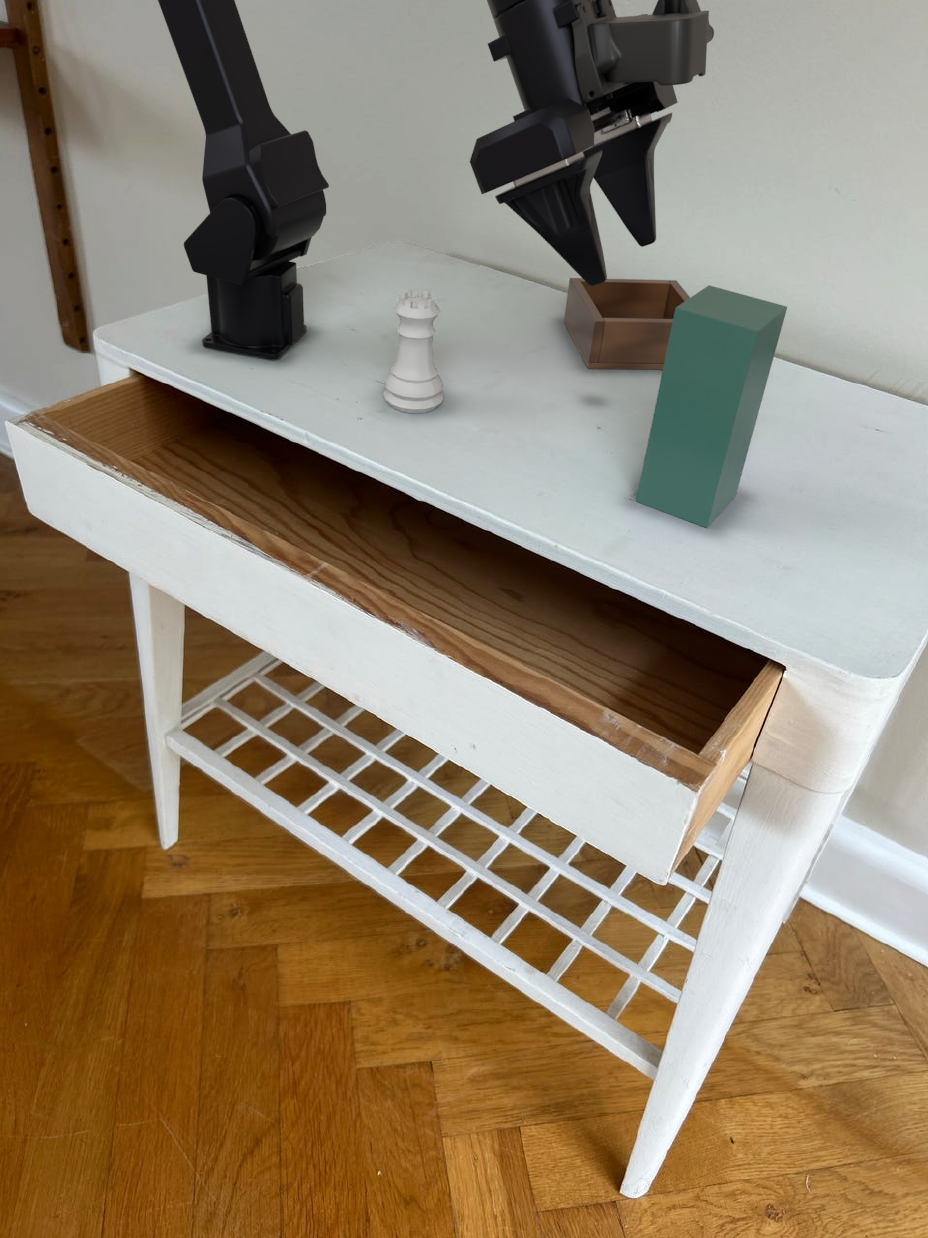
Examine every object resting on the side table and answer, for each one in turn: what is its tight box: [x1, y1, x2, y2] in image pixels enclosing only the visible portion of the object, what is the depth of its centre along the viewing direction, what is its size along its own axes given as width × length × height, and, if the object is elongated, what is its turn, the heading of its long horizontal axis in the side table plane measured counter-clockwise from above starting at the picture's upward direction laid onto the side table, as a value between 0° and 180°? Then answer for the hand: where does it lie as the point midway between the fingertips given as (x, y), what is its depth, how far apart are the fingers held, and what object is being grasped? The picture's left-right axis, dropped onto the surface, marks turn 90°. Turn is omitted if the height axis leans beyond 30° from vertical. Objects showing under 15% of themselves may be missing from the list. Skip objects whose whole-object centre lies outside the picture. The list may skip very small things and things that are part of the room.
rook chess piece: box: [383, 289, 444, 414], centre depth 72 cm, size 4×4×8 cm
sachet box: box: [635, 284, 788, 529], centre depth 62 cm, size 5×5×13 cm
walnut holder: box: [563, 277, 691, 370], centre depth 85 cm, size 10×10×4 cm
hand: (625, 262), depth 64 cm, fingers open, 9 cm apart
